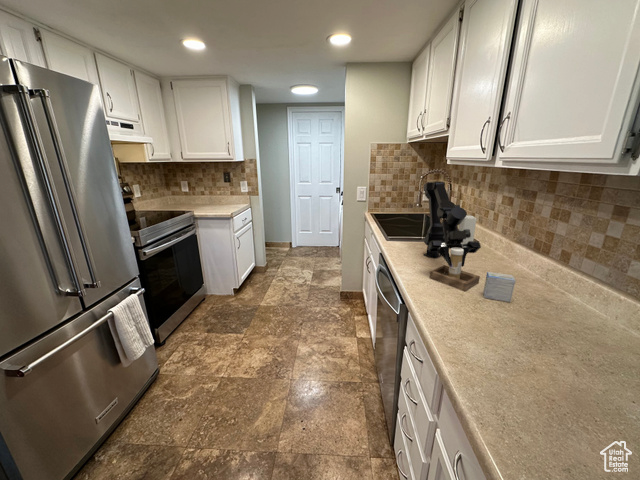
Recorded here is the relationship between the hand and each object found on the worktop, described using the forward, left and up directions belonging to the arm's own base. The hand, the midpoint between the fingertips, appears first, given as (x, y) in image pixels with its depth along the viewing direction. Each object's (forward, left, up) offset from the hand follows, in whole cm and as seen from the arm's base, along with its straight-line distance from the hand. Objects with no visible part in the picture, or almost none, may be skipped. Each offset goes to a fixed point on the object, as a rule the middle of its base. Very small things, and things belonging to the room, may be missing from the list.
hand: (456, 266), depth 104 cm
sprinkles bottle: (-1, -1, -7) cm, 7 cm away
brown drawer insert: (-1, -1, -7) cm, 7 cm away
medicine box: (+1, +15, -7) cm, 17 cm away
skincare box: (-54, -22, -7) cm, 59 cm away
